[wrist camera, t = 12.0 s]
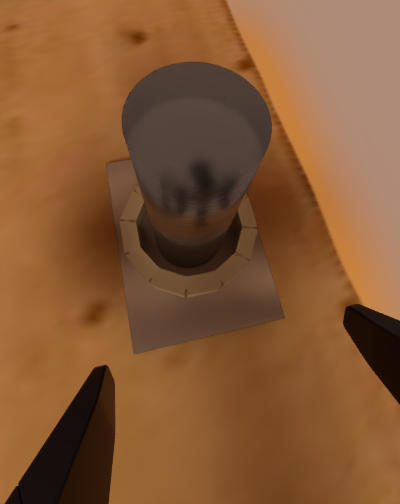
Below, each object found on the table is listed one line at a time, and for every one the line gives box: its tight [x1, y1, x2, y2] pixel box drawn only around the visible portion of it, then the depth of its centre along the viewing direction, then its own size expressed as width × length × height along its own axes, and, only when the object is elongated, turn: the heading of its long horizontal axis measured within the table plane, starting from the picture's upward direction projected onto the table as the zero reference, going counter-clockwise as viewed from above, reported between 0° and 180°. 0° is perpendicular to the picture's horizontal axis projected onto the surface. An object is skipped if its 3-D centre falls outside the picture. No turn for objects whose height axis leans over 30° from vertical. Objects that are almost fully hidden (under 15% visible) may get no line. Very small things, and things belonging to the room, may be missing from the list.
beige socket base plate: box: [106, 159, 285, 354], centre depth 18 cm, size 14×10×3 cm
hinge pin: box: [122, 62, 272, 268], centre depth 13 cm, size 5×5×11 cm
